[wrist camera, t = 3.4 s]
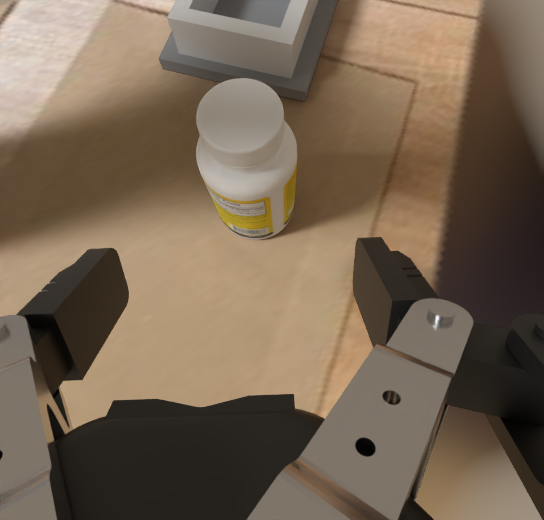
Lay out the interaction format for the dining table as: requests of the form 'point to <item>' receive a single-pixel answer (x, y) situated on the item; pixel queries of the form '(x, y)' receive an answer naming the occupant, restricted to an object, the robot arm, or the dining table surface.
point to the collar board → (249, 41)
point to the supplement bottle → (247, 157)
